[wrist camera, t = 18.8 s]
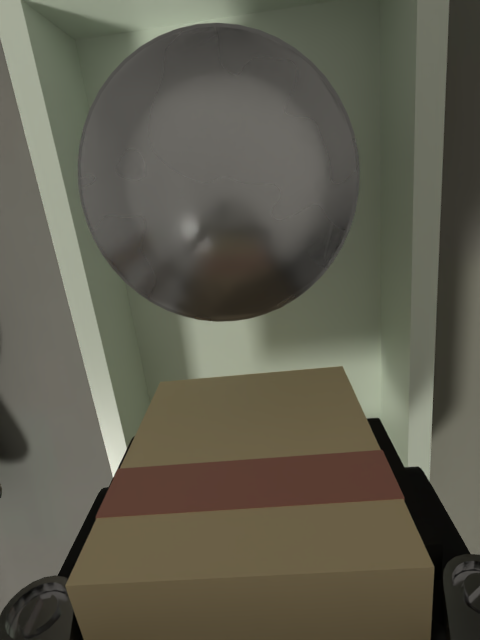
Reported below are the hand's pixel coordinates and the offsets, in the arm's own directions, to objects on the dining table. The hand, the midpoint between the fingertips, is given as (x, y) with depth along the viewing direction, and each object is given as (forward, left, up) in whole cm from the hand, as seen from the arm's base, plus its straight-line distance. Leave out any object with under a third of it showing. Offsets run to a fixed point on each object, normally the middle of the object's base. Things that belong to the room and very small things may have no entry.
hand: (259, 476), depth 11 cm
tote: (0, -4, -6) cm, 7 cm away
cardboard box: (0, 0, -1) cm, 1 cm away
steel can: (0, -7, -5) cm, 9 cm away
